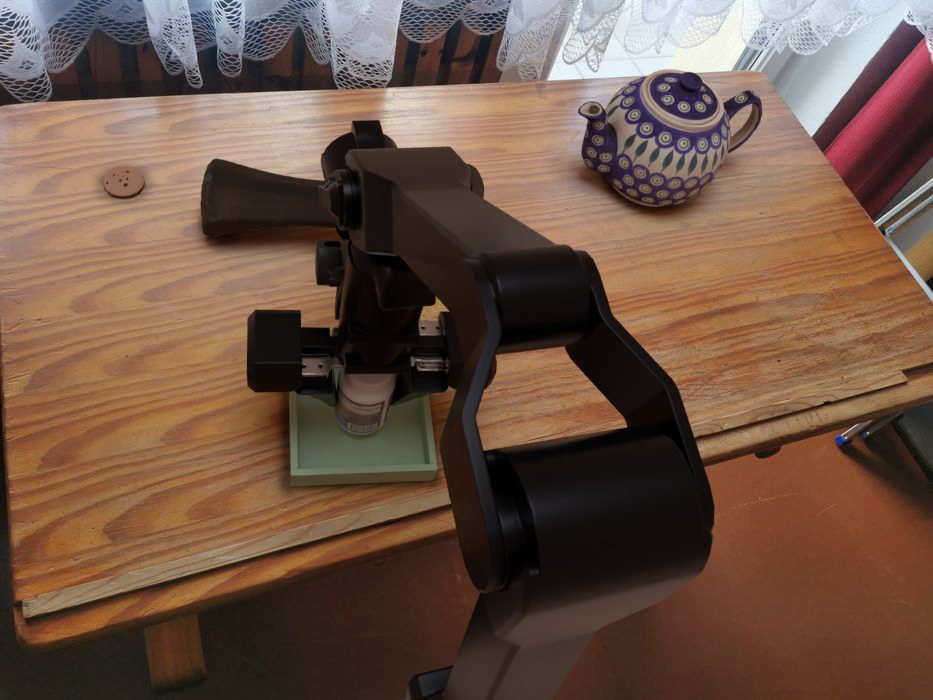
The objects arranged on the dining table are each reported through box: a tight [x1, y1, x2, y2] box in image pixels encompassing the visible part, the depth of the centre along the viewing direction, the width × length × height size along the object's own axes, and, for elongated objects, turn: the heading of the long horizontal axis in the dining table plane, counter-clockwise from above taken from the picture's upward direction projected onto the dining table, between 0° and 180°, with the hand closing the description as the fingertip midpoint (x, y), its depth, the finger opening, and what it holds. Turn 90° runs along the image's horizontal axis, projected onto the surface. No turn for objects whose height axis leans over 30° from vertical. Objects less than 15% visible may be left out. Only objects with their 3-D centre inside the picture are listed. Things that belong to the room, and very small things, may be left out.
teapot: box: [577, 68, 763, 208], centre depth 89 cm, size 25×15×15 cm, turn 105°
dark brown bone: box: [199, 158, 485, 237], centre depth 78 cm, size 11×10×28 cm
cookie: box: [102, 165, 145, 198], centre depth 78 cm, size 4×4×1 cm
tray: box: [288, 368, 439, 487], centre depth 69 cm, size 12×12×2 cm
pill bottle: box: [334, 368, 396, 435], centre depth 65 cm, size 5×5×8 cm
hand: (363, 401), depth 67 cm, fingers closed on pill bottle, 5 cm apart
